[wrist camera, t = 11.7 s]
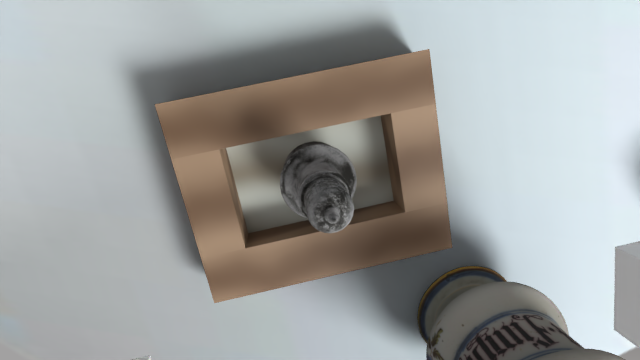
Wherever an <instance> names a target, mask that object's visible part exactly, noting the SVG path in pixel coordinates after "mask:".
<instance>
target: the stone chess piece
mask: <svg viewBox="0 0 640 360" xmlns="http://www.w3.org/2000/svg"><path fill="white" fill-rule="evenodd" d="M356 184H357V178H356V171H355V169H354V166H353V164H352V162H351V161H350V160H349V158H348V157H347V156H346V155H345V154H344V153H343V152H341V151H340V150H339V149H337V148H334V147H332V146H330V145H328V144H325V143H322V142H314V141H313V142H307V143H304V144H301V145H299V146H297V147H296V148H295V149H294V150H292V151H291V153H290V154H289V155H288V157H287V158H286V161H285V163H284V166H283V169H282V172H281V175H280V189H281V194H282V197H283V199H284V201H285V203H286V204H287V205H288V206H289V207H290V209H291V210H292V211H294V212H295V213H297V214H298V215H300V216H303V217H306V218H308V220H309V222H310V223H311V225H312V226H313V227H314V228H315V229H317V230H319V231H320V232H324V233H335V232H338V231H340V230H342V229H344V228H345V227H346V226H347V225H348V224H349V223H350V221H351V219H352V217H353V212H354V205H353V201H352V198H353V196H354V193H355V191H356Z"/></svg>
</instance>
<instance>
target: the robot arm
mask: <svg viewBox="0 0 640 360" xmlns="http://www.w3.org/2000/svg"><path fill="white" fill-rule="evenodd" d="M614 330H615V331H617V332H618V333H619V334H621V335H622V336H623V337H625V338H626V339H627V340H629V341H630V342H632V343H633V344H634V345H636V346H637V347H638V348H640V241H639V242H635V243H630V244H626V245H622V246H617V247H615V298H614ZM132 360H152V359H151V356H150V355H149V356H145V357H141V358H136V359H132Z"/></svg>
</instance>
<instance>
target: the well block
mask: <svg viewBox="0 0 640 360" xmlns="http://www.w3.org/2000/svg"><path fill="white" fill-rule="evenodd" d="M155 107H156V111H157V114H158V117H159V120H160V124H161V127H162V130H163V134H164V137H165V140H166V144H167V147H168V150H169V154H170V157H171V160H172V164H173V167H174V170H175V174H176V177H177V180H178V184H179V187H180V190H181V194H182V197H183V200H184V203H185V207H186V210H187V213H188V217H189V220H190V223H191V227H192V230H193V233H194V237H195V240H196V243H197V247H198V250H199V253H200V257H201V260H202V263H203V267H204V270H205V273H206V277H207V280H208V283H209V286H210V290H211V293H212V296H213V300H214V303H217V302H221V301H225V300H230V299H234V298H238V297H243V296H247V295H251V294H255V293H260V292H264V291H268V290H273V289H277V288H281V287H286V286H290V285H294V284H298V283H303V282H307V281H311V280H316V279H320V278H324V277H328V276H333V275H337V274H341V273H346V272H350V271H354V270H358V269H363V268H367V267H371V266H376V265H380V264H384V263H389V262H393V261H397V260H401V259H406V258H410V257H414V256H419V255H423V254H427V253H431V252H436V251H440V250H444V249H449V248H452V241H451V232H450V223H449V215H448V206H447V198H446V189H445V180H444V172H443V163H442V154H441V146H440V137H439V129H438V120H437V111H436V103H435V94H434V85H433V77H432V68H431V60H430V51H429V49H428V50H423V51H418V52H413V53H408V54H403V55H398V56H393V57H388V58H383V59H378V60H373V61H368V62H363V63H358V64H353V65H348V66H343V67H338V68H333V69H328V70H323V71H318V72H313V73H308V74H303V75H298V76H293V77H289V78H284V79H279V80H274V81H269V82H264V83H259V84H254V85H249V86H244V87H239V88H234V89H229V90H224V91H219V92H214V93H209V94H204V95H199V96H194V97H189V98H184V99H179V100H174V101H169V102H164V103H159V104H155ZM313 141H314V142H322V143H325V144H328V145H330V146H332V147H334V148H337V149H339V150H340V151H341V152H343V153H344V154H345V155H346V156H347V157H348V158H349V160H350V161H351V162H352V164H353V166H354V169H355V171H356V178H357V184H356V191H355V193H354V196H353V198H352V201H353V205H354V212H353V217H352V219H351V221H350V223H349V224H348V225H347V226H346V227H345V228H344V229H342V230H340V231H338V232H335V233H324V232H320V231H319V230H317V229H315V228H314V227H313V226H312V225H311V223H310V222H309V220H308V218H306V217H303V216H300V215H298V214H297V213H295V212H294V211H292V210H291V209H290V207H289V206H288V205H287V204H286V203H285V201H284V199H283V197H282V194H281V189H280V175H281V172H282V169H283V166H284V163H285V161H286V158H287V157H288V155H289V154H290V153H291V151H292V150H294V149H295V148H296V147H297V146H299V145H301V144H304V143H307V142H313Z"/></svg>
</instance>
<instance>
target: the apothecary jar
mask: <svg viewBox="0 0 640 360" xmlns="http://www.w3.org/2000/svg"><path fill="white" fill-rule="evenodd" d="M418 326H419V330H420V333H421V335H422V337H423V339H424V340H425V342H426V343H427V354H426V355H427V360H625V359H623V358H621V357H619V356H617V355H614V354H612V353H608V352H605V351H601V350H595V349H584V348H583V347H582V346H581V345H579V344H578V343H577V342H576V341H574V340H573V339H572V338H571V337H570V336H569V334H568V329H567V325H566V322H565V320H564V318H563V316H562V314H561V312H560V311H559V309H558V308H557V306H556V305H555V304H554V303H553V302H552V301H551V300H550V299H549V298H548V297H547V296H545V295H544V294H542V293H541V292H539V291H537V290H536V289H534V288H531V287H529V286H526V285H523V284H520V283H515V282H507V281H506V280H505V279H504V278H503V277H502V276H501V275H500V274H498V273H497V272H495V271H493V270H491V269H488V268H484V267H478V266H467V267H461V268H457V269H454V270H452V271H449V272H447V273H446V274H444V275H442V276H441V277H440V278H438V279H437V280H436V281H435V282H434V283H433V284H432V285H431V286H430V287H429V288H428V290H427V291H426V292H425V294H424V296H423V298H422V300H421V302H420V305H419V310H418Z"/></svg>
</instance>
